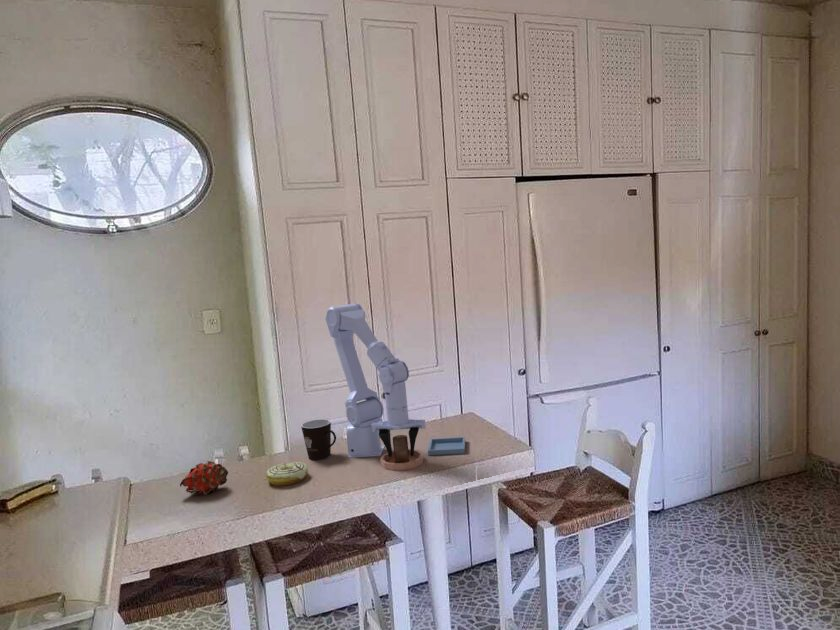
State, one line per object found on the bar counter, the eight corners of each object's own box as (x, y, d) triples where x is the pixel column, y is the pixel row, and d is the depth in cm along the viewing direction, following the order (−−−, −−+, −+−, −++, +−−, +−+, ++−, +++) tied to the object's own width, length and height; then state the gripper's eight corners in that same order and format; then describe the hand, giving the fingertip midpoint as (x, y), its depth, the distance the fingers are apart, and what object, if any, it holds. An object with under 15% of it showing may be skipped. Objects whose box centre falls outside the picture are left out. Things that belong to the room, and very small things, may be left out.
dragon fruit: (234, 493, 152) (187, 509, 148) (228, 467, 157) (183, 482, 154) (227, 475, 146) (178, 492, 142) (222, 449, 151) (174, 464, 148)
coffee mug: (301, 455, 172) (298, 423, 171) (329, 449, 175) (326, 417, 174) (311, 467, 161) (307, 432, 160) (341, 460, 165) (337, 426, 164)
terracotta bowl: (378, 472, 153) (377, 465, 152) (384, 457, 164) (384, 450, 164) (421, 470, 151) (420, 463, 151) (424, 454, 163) (424, 448, 163)
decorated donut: (311, 482, 151) (309, 468, 150) (269, 491, 147) (267, 477, 147) (305, 469, 160) (304, 456, 160) (266, 477, 157) (264, 464, 156)
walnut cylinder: (394, 465, 156) (391, 440, 155) (395, 459, 160) (393, 435, 159) (408, 464, 155) (406, 439, 155) (410, 459, 159) (407, 434, 159)
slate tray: (428, 457, 161) (427, 450, 161) (431, 444, 171) (430, 438, 171) (464, 455, 160) (464, 448, 160) (465, 442, 170) (464, 436, 170)
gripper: (367, 412, 153) (372, 461, 154) (422, 409, 151) (426, 458, 153) (372, 405, 160) (377, 452, 161) (424, 401, 158) (428, 449, 160)
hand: (401, 455), depth 157 cm, fingers open, 5 cm apart
